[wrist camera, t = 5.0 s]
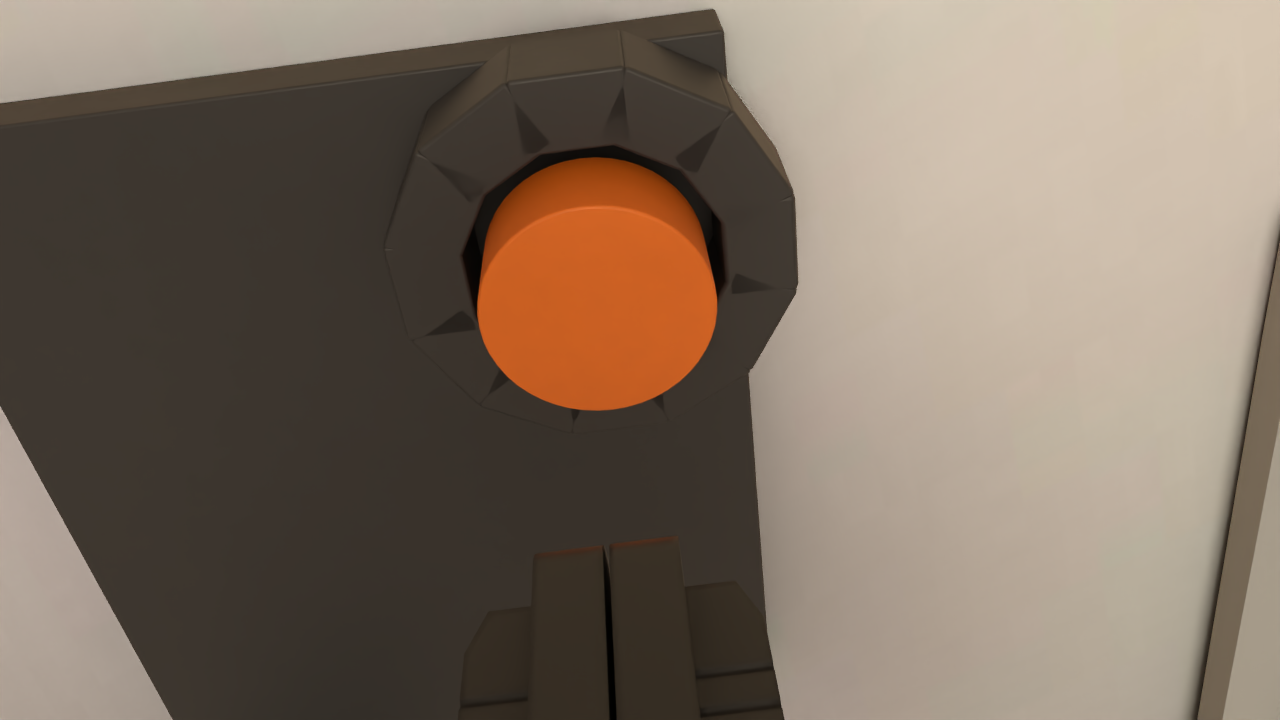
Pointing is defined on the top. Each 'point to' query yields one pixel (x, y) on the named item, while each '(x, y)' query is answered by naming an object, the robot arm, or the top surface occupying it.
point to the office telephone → (1252, 558)
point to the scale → (363, 354)
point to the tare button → (596, 285)
